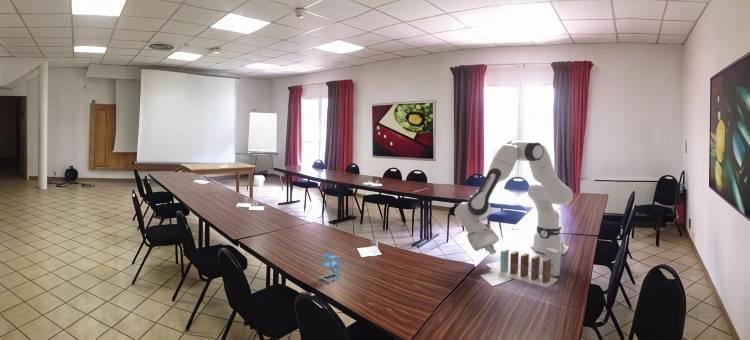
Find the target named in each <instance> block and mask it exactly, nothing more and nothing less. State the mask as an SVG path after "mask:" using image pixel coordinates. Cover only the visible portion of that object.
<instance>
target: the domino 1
mask: <svg viewBox="0 0 750 340" xmlns="http://www.w3.org/2000/svg"><path fill="white" fill-rule="evenodd" d="M509 252H510V250H509V248H504V249H502V250H500V264H499V265H500V271H502V272H504V271H506V270H508V266H509V262H510V261H509V258H510V257H509V256H510V255H509Z"/></svg>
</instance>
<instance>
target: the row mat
mask: <svg viewBox="0 0 750 340" xmlns="http://www.w3.org/2000/svg"><path fill="white" fill-rule="evenodd" d="M520 270H521V268H518V272H517V273H515V274H514V275H513V274H510V266H509V265H508V270H506V271H504V272H502V271H500V264H499V265H497V266H495V267H493V268H491V269H489V270H488V272H490V273H493V274H497V275H501V276H504V277H508V278H512V279H515V280H519V281H521V282H527V283H530V284H533V285H536V286H540V287H544V288H549V287H550V286H552V285H553V284H554V283H556V282H557V281H558V280H559V278H554V277H553V276H550V281H549V282H547V283H542V274H540V273H539V278H537V279H536V280H531V271H528V275H527V276H525V277H520Z"/></svg>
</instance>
